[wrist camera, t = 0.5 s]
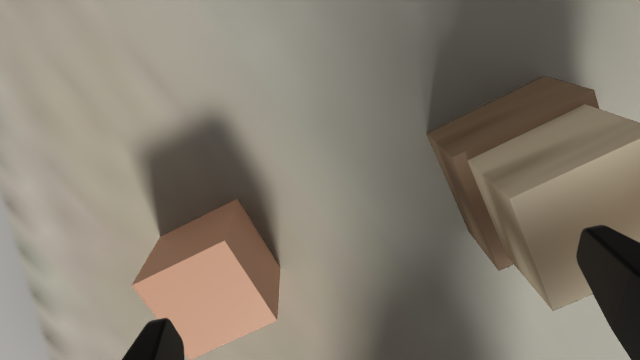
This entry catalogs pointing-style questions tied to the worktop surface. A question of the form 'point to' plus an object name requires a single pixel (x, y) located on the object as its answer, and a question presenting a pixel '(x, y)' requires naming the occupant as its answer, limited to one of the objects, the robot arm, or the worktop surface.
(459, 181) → the tower base
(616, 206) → the tower middle
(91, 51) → the worktop surface
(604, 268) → the robot arm
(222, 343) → the terracotta block
